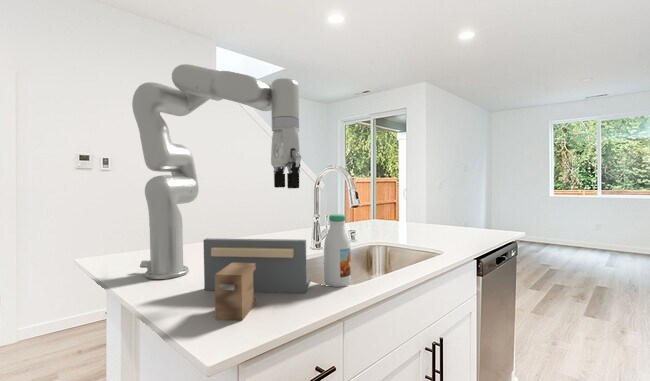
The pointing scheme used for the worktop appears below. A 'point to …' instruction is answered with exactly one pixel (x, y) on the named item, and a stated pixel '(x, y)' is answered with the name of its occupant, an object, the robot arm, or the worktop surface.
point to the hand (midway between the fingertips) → (286, 187)
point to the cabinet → (234, 291)
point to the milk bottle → (337, 253)
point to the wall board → (260, 262)
